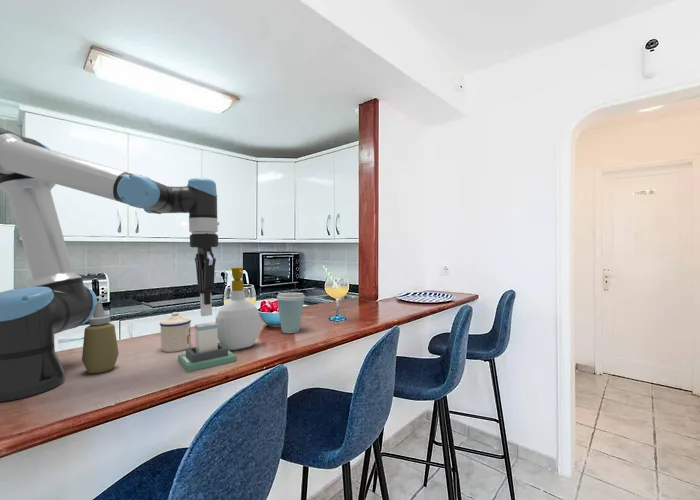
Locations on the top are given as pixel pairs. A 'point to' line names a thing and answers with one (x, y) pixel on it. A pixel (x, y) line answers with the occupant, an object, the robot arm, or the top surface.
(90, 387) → the top surface
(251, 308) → the white round bottle
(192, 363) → the header board
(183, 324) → the teacup with lid
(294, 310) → the disposable coffee cup
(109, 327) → the squeeze bottle
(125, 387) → the top surface
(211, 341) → the plug
